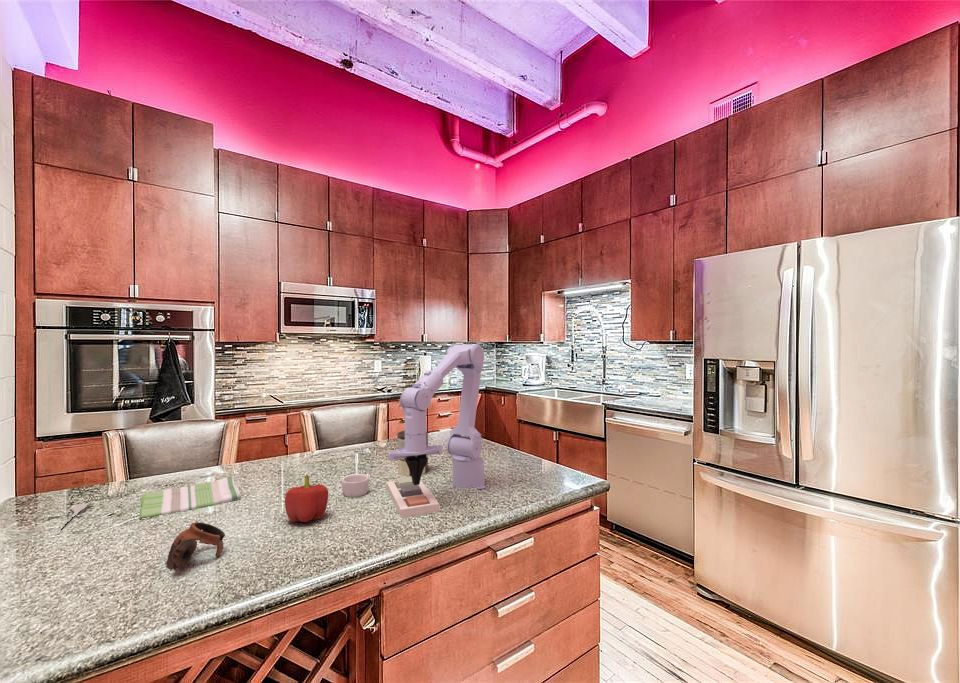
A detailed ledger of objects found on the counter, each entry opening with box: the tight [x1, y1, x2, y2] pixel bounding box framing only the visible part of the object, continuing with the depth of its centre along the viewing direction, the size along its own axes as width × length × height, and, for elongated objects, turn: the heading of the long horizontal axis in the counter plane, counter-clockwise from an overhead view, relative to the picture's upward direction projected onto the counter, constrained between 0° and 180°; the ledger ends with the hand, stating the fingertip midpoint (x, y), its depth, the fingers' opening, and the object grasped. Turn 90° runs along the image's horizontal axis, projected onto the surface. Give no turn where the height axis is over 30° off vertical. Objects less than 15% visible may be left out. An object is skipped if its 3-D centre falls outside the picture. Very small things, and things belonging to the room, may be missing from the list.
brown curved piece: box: [165, 521, 226, 570], centre depth 89 cm, size 12×10×8 cm
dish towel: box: [139, 475, 242, 520], centre depth 123 cm, size 17×23×4 cm
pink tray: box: [385, 479, 440, 519], centre depth 120 cm, size 10×22×3 cm, turn 22°
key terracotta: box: [406, 495, 428, 507], centre depth 114 cm, size 5×5×2 cm
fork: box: [71, 502, 94, 518], centre depth 111 cm, size 3×21×3 cm, turn 22°
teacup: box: [341, 473, 370, 498], centre depth 126 cm, size 10×8×5 cm
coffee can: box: [396, 430, 429, 477], centre depth 144 cm, size 10×10×14 cm
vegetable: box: [284, 474, 329, 523], centre depth 110 cm, size 11×10×10 cm
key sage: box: [395, 476, 413, 489], centre depth 127 cm, size 5×5×2 cm
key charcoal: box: [401, 484, 421, 497], centre depth 120 cm, size 5×5×2 cm
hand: (416, 483), depth 114 cm, fingers closed
